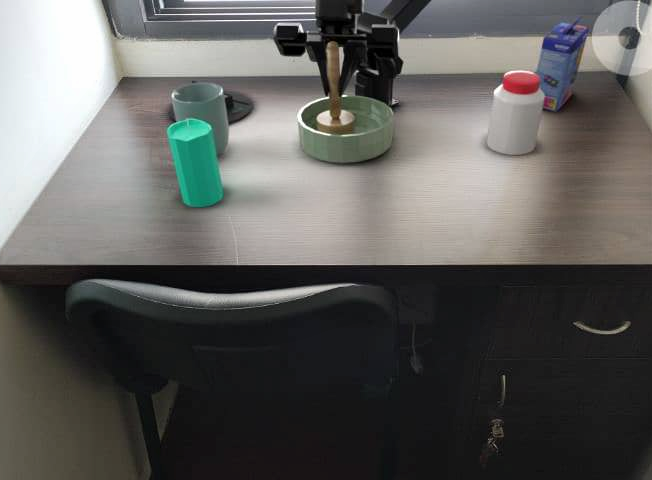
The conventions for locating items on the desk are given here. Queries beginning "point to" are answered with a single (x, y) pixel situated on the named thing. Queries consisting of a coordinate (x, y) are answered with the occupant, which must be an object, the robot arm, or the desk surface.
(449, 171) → the desk surface
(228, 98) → the black round base plate
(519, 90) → the pill bottle
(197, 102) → the cup
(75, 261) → the desk surface
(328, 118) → the wooden mushroom pestle
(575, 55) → the ink cartridge box
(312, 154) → the bowl
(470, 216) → the desk surface
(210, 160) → the candle
